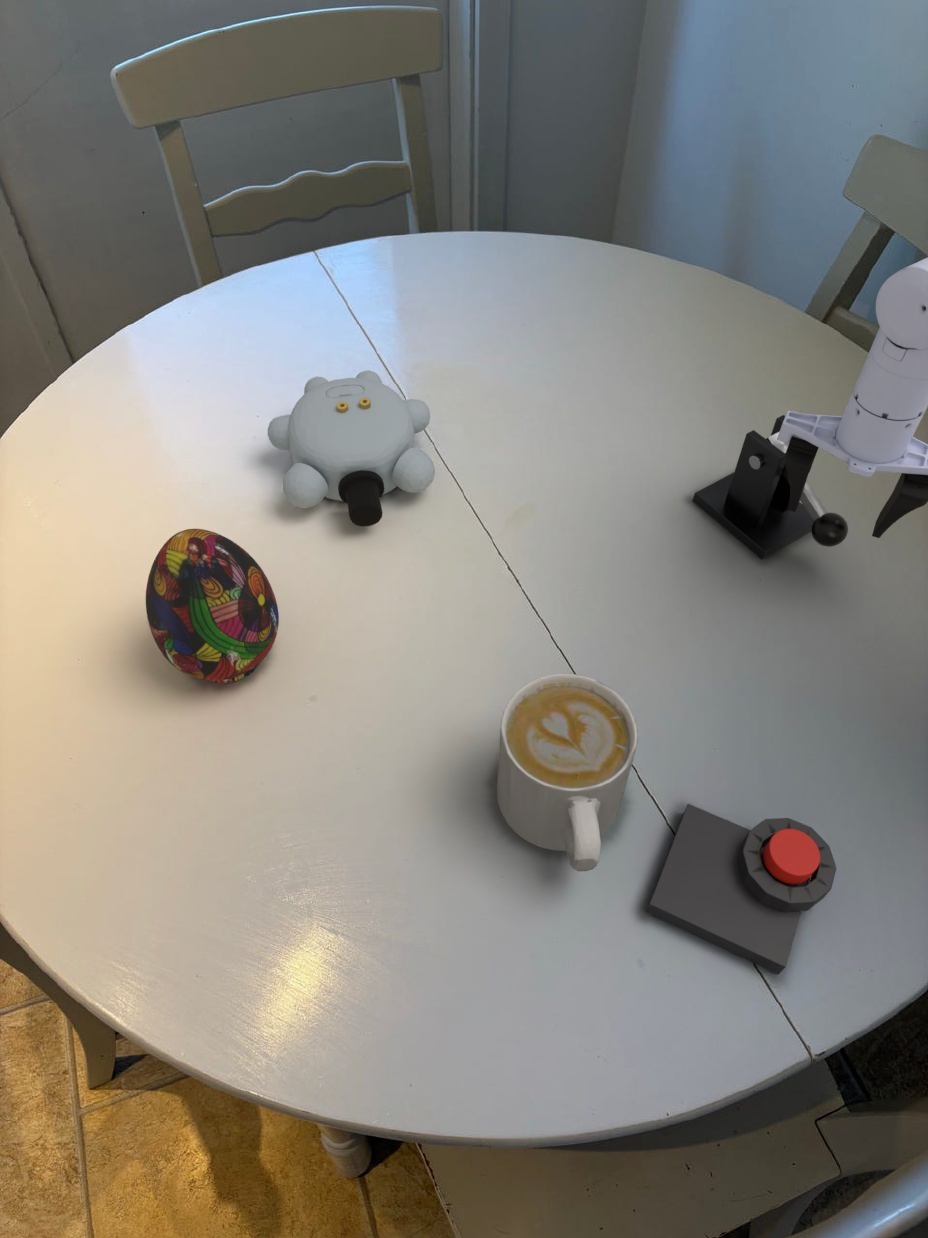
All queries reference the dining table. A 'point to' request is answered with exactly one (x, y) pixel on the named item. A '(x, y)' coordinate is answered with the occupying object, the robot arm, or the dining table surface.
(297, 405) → the figurine
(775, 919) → the button block
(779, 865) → the button
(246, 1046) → the dining table surface
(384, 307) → the dining table surface
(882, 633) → the dining table surface
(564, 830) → the coffee mug
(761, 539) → the bracket
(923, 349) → the robot arm
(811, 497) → the lever
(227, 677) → the egg
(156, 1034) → the dining table surface
